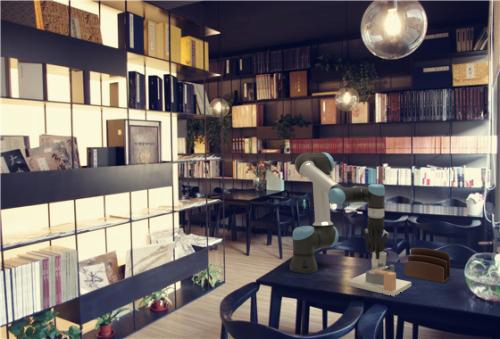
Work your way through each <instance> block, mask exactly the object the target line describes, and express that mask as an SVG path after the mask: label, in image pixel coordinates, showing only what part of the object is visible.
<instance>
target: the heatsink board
mask: <svg viewBox="0 0 500 339" xmlns="http://www.w3.org/2000/svg"><path fill="white" fill-rule="evenodd" d="M382 266H383V263H378V268H379V267H382ZM374 269H376V268H374ZM374 269H373V268H372V267H371V269H368V270H366V271H365V273H362V274H360V275H357V276H356V277H353V278H351V279H349V280H347V281H346V285H347V286H348V287H353V288H358V289H361V290H367V291H370V292H375V293H378V294H382V293H383V295H387V296H390V295H391V297H396V296H397V295H399V294H400V292H401V293H403V292H404V291H405V290H408V289H409V288H411V287H412V282H411V281H408V280H405V279H404V280H403V279H398V278H396V289H395V290H394V291H388V290H384V275H383V274H378V273H377V274H371V273H369V271H371V270H374ZM384 271H389V272H394V273H395V264H390V265H389V269H387V270H384ZM395 295H396V296H395Z"/></svg>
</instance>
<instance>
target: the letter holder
mask: <svg viewBox="0 0 500 339" xmlns="http://www.w3.org/2000/svg"><path fill="white" fill-rule="evenodd" d="M450 255H451V254H450V253H448V252H445V251H441V250H438V249H433V248H432V249H431V248H423V247H412V248H410V254H408V255H407V260H406V261H405V262H404V271H403V274H404V276H405V277H410V278H415V279H420V280H427V281H431V282H436V283H439V284H440V283H441V284H444V283H445V282H447V281H448V280H450V279H451V277H450V276H451V271H450V270H451V268H450V267H451V262H450V261H451V259H450V258H451V256H450Z"/></svg>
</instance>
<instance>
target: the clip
mask: <svg viewBox="0 0 500 339" xmlns="http://www.w3.org/2000/svg"><path fill="white" fill-rule="evenodd" d="M374 273H378V274H383V275H384V290H388V291H394V290H395V289H396V279H397V272H395V271H394V272H389V271H383V270H378V269H377V270H375V271H374Z"/></svg>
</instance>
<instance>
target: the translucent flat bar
mask: <svg viewBox="0 0 500 339" xmlns="http://www.w3.org/2000/svg"><path fill="white" fill-rule="evenodd" d="M377 269H378V270H383V271H384V270H389V266H388V265H385V266H384V265H383V266H382V267H379V268H376V269H374V270H371V271H369V273H371V274H377V273H374V271H375V270H377Z"/></svg>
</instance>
